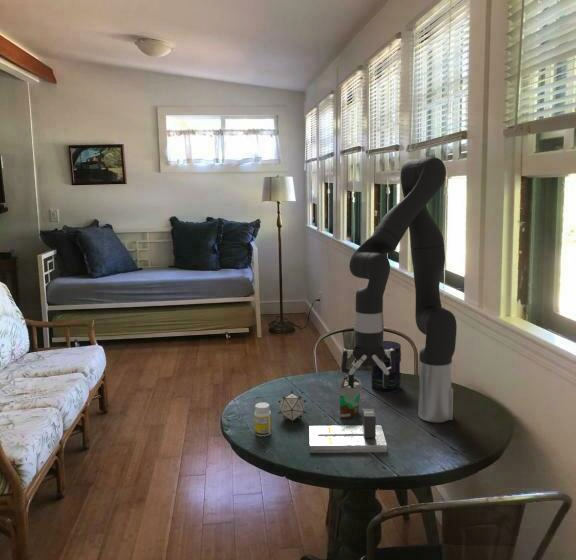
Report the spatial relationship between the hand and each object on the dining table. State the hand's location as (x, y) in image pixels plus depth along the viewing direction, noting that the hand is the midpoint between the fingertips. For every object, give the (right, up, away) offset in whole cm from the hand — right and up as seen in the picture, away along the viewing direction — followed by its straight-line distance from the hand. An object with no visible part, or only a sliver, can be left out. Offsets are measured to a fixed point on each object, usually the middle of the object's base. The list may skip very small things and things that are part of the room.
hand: (368, 387), depth 153 cm
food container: (-2, -12, +21) cm, 25 cm away
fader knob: (+1, -13, +2) cm, 13 cm away
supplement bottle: (-28, -15, +10) cm, 33 cm away
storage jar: (+12, -8, +42) cm, 44 cm away
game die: (-20, -13, +18) cm, 30 cm away
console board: (-5, -15, +3) cm, 17 cm away
